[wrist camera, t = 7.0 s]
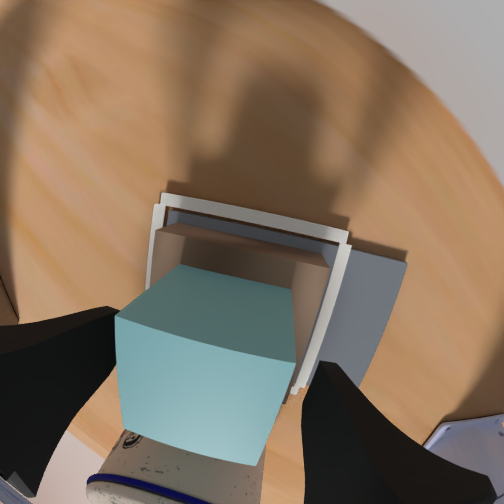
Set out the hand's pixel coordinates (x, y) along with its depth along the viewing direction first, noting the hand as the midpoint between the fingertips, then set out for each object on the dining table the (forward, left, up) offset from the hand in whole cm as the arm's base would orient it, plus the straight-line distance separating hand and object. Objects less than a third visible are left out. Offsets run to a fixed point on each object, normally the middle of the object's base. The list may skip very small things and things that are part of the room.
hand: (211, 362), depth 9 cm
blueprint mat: (-2, 0, -5) cm, 6 cm away
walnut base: (0, 0, -5) cm, 5 cm away
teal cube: (0, 0, -2) cm, 3 cm away
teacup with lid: (+1, +11, -6) cm, 12 cm away
